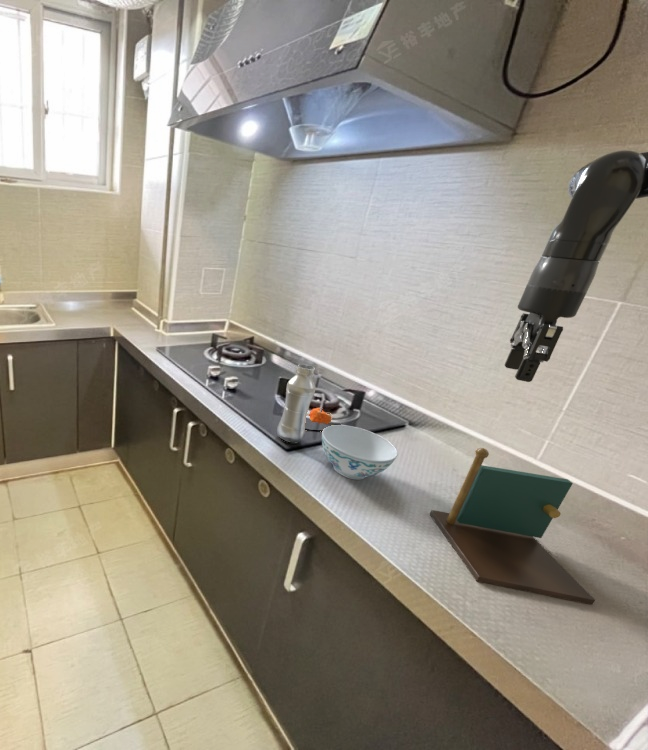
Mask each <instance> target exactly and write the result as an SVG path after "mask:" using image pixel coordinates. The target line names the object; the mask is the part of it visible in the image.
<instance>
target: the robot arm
mask: <svg viewBox="0 0 648 750" xmlns="http://www.w3.org/2000/svg"><path fill="white" fill-rule="evenodd" d="M567 194H568V196H569V198H570V199H571V200H570V201H569V203H568V206H567V209H566V211H565V213H564V215H563V218H562V219H561V220H560V222H559V223H557V224H556V226H555V227H554V228H553V230H552V231H551V233H550V235H549V238H548V240H547V242H546V245H545V246H544V248H543V251H542V253H541V256H540V258H539V259H538V262H537V263H536V265H535V266H534V268H533V270H532V272H531V274H530V277H529V279H528V281H527V283H526V286H525V288H524V290H523V293H522V295H521V297H520V300H519V302H518V305H517V309H518V310H519V311H521V312H523V313H522V314H521V315H520V318H519V321H518V322H517V324H516V327H515V329H514V331H513V334H512V336H511V338H510V339H509V343H510V348H511V349H510V351H509V354H508V356H507V358H506V360H505V362H504V367H505V368H506V369H511V370H515V371H516V372H515V375H514V378H515V379H516V381H522V382H527V383H531V382H533V380H534V378H535V375H536V373H537V371H538V369H539V367H540V365H541V363H544V362H548V361H550V359H551V357H552V354H553V352H554V350H555V347H556V345H557V344H558V341H559V339H560V338H561V335H562V333H563V331H564V326H561V325H560V326H559V325H557V322H558V319H559V318H564V319H571V318H574V317H575V316H577V313H578V312H579V309H580V307H581V305H582V303H583V301H584V299H585V297H586V295H587V294H588V291H589V289H590V288H591V285H592V283H593V280H594V279H595V276H596V274H597V270H598V267H599V264H600V262H601V260H602V258H603V256H604V253H605V251H606V250H607V248H608V245H609V243H610V241H611V238H612V235H613V233H614V232H615V229H616V228H617V226H618V225H619V224H620V222H621V221H622V220H623V218H624V217H625V215H626V214H627V212H628V211H629V209H630V207H632V205H633V203H634V202H635V201H636V200H638V199H642V198H648V151H645V152H638V151H634V150H617V151H612V152H608V153H606V154H604V155H602V156H599V157H598V158H596V159H594V160H592V161H591V162H589V163H587V164H584V166H581V168H579V169H578V170H577V171H576V172H575V173H574V174H573V176H572V177H571V178H570V180H569V182H568V185H567ZM524 312H525V313H524ZM537 351H538V352H537Z"/></svg>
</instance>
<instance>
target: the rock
mask: <svg viewBox="0 0 648 750" xmlns="http://www.w3.org/2000/svg"><path fill="white" fill-rule="evenodd" d="M320 408H321V407H316V408H312V409H311V410H310V414H309V416H310V420H311V421H312V422H318V423H326V424H328V423H330V422H331V419H332V417H331V415H332V414H331V415H329V414H327V413H328V412H326V411H324V409H323V410H322V412H321V411H320Z"/></svg>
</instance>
